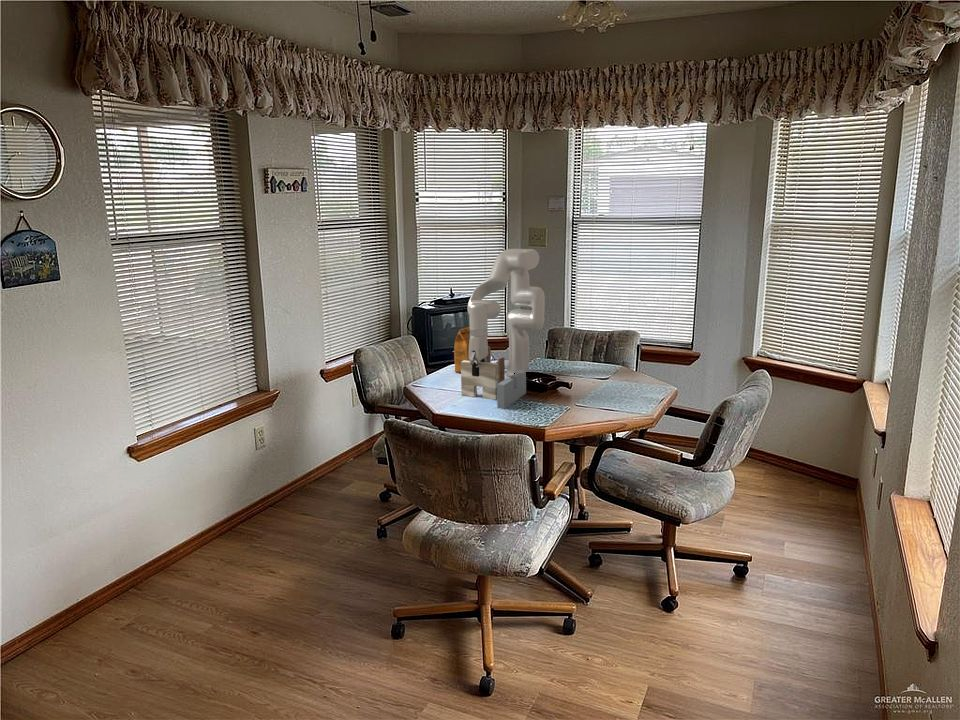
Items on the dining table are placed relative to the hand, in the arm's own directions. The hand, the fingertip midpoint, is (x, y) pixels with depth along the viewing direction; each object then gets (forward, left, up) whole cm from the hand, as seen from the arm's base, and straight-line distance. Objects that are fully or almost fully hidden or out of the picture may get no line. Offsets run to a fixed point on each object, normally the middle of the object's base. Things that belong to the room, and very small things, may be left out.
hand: (479, 373), depth 286 cm
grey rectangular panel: (0, +15, -10) cm, 18 cm away
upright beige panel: (0, 0, -10) cm, 10 cm away
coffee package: (-37, -24, -10) cm, 45 cm away
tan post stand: (-16, -1, -10) cm, 19 cm away
